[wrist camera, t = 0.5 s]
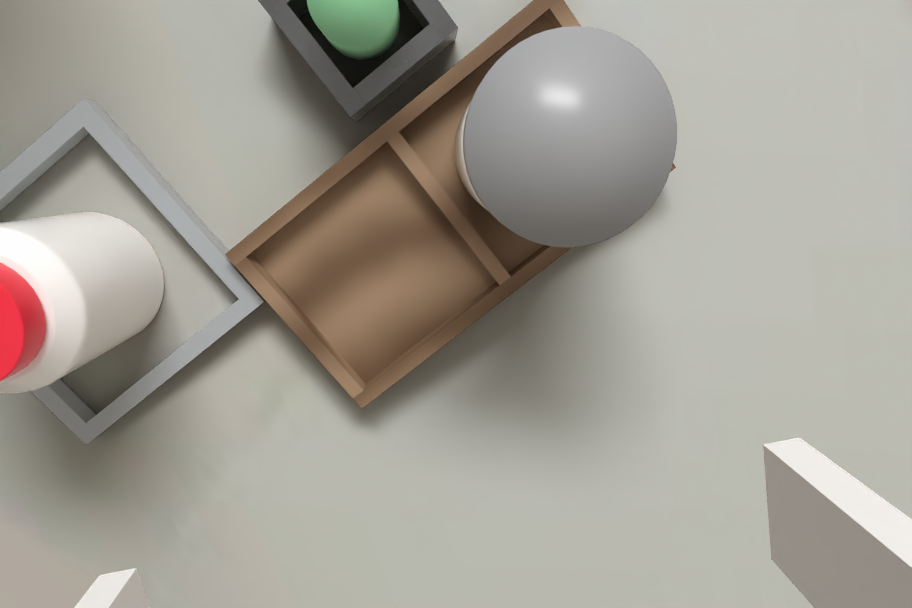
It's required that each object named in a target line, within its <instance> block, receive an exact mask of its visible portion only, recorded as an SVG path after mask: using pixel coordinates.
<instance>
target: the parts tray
mask: <svg viewBox="0 0 912 608" xmlns="http://www.w3.org/2000/svg"><path fill="white" fill-rule="evenodd" d="M89 133H90V134H91V135H92V137H93V138H94V139H95V140H96V141H97V142H98V143H99V144H100V145H101V147H102V148H103V149H104V150H105V151H106V152H107V153H108V154H109V155H110V157H111V158H112V159H113V160H114V161H115V162H116V163H117V164H118V165H119V167H120V168H121V169H122V170H123V171H124V172H125V173H126V174H127V175H128V177H129V178H130V179H131V180H132V181H133V182H134V183H135V184H136V185H137V187H138V188H139V189H140V190H141V191H142V192H143V193H144V194H145V195H146V197H147V198H148V199H149V200H150V201H151V202H152V203H153V204H154V205H155V207H156V208H157V209H158V210H159V211H160V212H161V213H162V214H163V215H164V217H165V218H166V219H167V220H168V221H169V222H170V223H171V224H172V225H173V227H174V228H175V229H176V230H177V231H178V232H179V233H180V234H181V235H182V237H183V238H184V239H185V240H186V241H187V242H188V243H189V244H190V245H191V247H192V248H193V249H194V250H195V251H196V252H197V253H198V254H199V255H200V257H201V258H202V259H203V260H204V261H205V262H206V263H207V264H208V265H209V267H210V268H211V269H212V270H213V271H214V272H215V273H216V274H217V275H218V277H219V278H220V279H221V280H222V281H223V282H224V283H225V284H226V285H227V287H228V288H229V289H230V290H231V291H232V292H233V293H234V294H235V295H236V297H237V298H238V300H237V301H236V302H235V303H234V304H232V305H231V306H230V307H229V308H227V309H226V310H225V311H224V312H222V313H221V314H220V315H219V316H218V317H216V318H215V319H214V320H213V321H211V322H210V323H209V324H208V325H206V326H205V327H204V328H203V329H201V330H200V331H199V332H198V333H197V334H195V335H194V336H193V337H192V338H190V339H189V340H188V341H187V342H185V343H184V344H183V345H182V346H181V347H179V348H178V349H177V350H176V351H174V352H173V353H172V354H171V355H169V356H168V357H167V358H166V359H165V360H163V361H162V362H161V363H160V364H158V365H157V366H156V367H155V368H153V369H152V370H151V371H150V372H148V373H147V374H146V375H145V376H144V377H142V378H141V379H140V380H139V381H137V382H136V383H135V384H134V385H132V386H131V387H130V388H129V389H128V390H126V391H125V392H124V393H123V394H121V395H120V396H119V397H118V398H116V399H115V400H114V401H113V402H112V403H110V404H109V405H108V406H107V407H105V408H104V409H103V410H102V411H100V412H99V413H98V414H97V415H96V414H95V413H94V412H93V411H92V410H91V409H90V408H89V407H88V406H87V405H86V404H85V403H84V402H83V401H82V400H81V399H80V398H79V397H78V396H77V395H76V394H75V393H74V392H73V391H72V390H71V389H70V388H69V387H68V386H67V385H66V384H65V383H64V382H63V381H62V380H61V379H59V380H57V381H55V382H53V383H52V384H49V385H47V386H44V387H42V388H39V389H37V390H32V391H31V392H32V393H33V394H34V395H35V396H36V397H37V398H38V399H39V400H40V401H41V402H42V403H43V404H44V405H45V406H46V407H47V408H48V409H49V410H50V411H51V412H52V413H53V414H54V415H55V416H56V417H57V418H58V419H60V420H61V421H62V422H63V423H64V424H65V425H66V426H67V427H68V428H69V429H70V430H71V431H72V432H73V433H74V434H75V435H76V436H77V437H78V438H79V439H80V440H81V441H82V442H83V443H84V444H85V445H87V444H88V443H90V442H91V441H92V440H93V439H95V438H96V437H97V436H98V435H100V434H101V433H102V432H103V431H105V430H106V429H107V428H108V427H109V426H111V425H112V424H113V423H114V422H116V421H117V420H118V419H119V418H121V417H122V416H123V415H124V414H126V413H127V412H128V411H129V410H131V409H132V408H133V407H134V406H136V405H137V404H138V403H139V402H140V401H142V400H143V399H144V398H145V397H147V396H148V395H149V394H150V393H152V392H153V391H154V390H155V389H157V388H158V387H159V386H160V385H162V384H163V383H164V382H165V381H166V380H168V379H169V378H170V377H171V376H173V375H174V374H175V373H176V372H178V371H179V370H180V369H181V368H183V367H184V366H185V365H186V364H188V363H189V362H190V361H191V360H193V359H194V358H195V357H196V356H197V355H199V354H200V353H201V352H202V351H204V350H205V349H206V348H207V347H209V346H210V345H211V344H212V343H214V342H215V341H216V340H217V339H219V338H220V337H221V336H222V335H224V334H225V333H226V332H227V331H228V330H230V329H231V328H232V327H233V326H235V325H236V324H237V323H238V322H240V321H241V320H242V319H243V318H245V317H246V316H247V315H248V314H250V313H251V312H252V311H253V310H255V309H256V308H257V307H258V306H259V305H261V304H262V303H263V302H264V301H266V300H265V299H264V298H263V297H262V296H261V295H260V294H259V292H258V291H257V290H256V289H255V288H254V287H253V286H252V285H251V283H250V282H249V281H248V280H247V279H246V278H245V277H244V276H243V274H242V273H241V272H240V271H239V270H238V269H237V268H236V267H235V265H234V264H233V263H232V262H231V261H230V260H229V259H228V258H227V256H226V255H225V254H226V253H227V252H229V251H228V250H227V249H226V248H225V247H224V246H223V245H222V244H221V242H220V241H219V240H218V239H217V238H216V237H215V236H214V235H213V233H212V232H211V231H210V230H209V229H208V228H207V227H206V225H205V224H204V223H203V222H202V221H201V220H200V219H199V218H198V216H197V215H196V214H195V213H194V212H193V211H192V210H191V209H190V207H189V206H188V205H187V204H186V203H185V202H184V201H183V200H182V198H181V197H180V196H179V195H178V194H177V193H176V192H175V191H174V189H173V188H172V187H171V186H170V185H169V184H168V183H167V182H166V180H165V179H164V178H163V177H162V176H161V175H160V174H159V172H158V171H157V170H156V169H155V168H154V167H153V166H152V165H151V163H150V162H149V161H148V160H147V159H146V158H145V157H144V156H143V154H142V153H141V152H140V151H139V150H138V149H137V148H136V147H135V145H134V144H133V143H132V142H131V141H130V140H129V139H128V138H127V136H126V135H125V134H124V133H123V132H122V131H121V130H120V128H119V127H118V126H117V125H116V124H115V123H114V122H113V121H112V119H111V118H110V117H109V116H108V115H107V114H106V113H105V112H104V110H103V109H102V108H101V107H100V106H99V105H98V104H97V103H96V101H92V100H87V99H82V100H81V101H80V102H79V103H78V104H77V105H76V106H74V107H73V108H72V109H71V110H70V111H69V112H68V113H67V114H65V115H64V116H63V117H62V118H61V119H60V120H59V121H57V122H56V123H55V124H54V125H53V126H52V127H51V128H50V129H48V130H47V131H46V132H45V133H44V134H43V135H42V136H41V137H39V138H38V139H37V140H36V141H35V142H34V143H33V144H31V145H30V146H29V147H28V148H27V149H26V150H25V151H24V152H22V153H21V154H20V155H19V156H18V157H17V158H16V159H15V160H13V161H12V162H11V163H10V164H9V165H8V166H7V167H5V168H4V169H3V170H2V171H1V172H0V211H1V210H2V209H3V208H4V207H6V206H7V205H8V204H9V203H10V202H11V201H12V200H14V199H15V198H16V197H17V196H18V195H19V194H20V193H22V192H23V191H24V190H25V189H26V188H27V187H28V186H30V185H31V184H32V183H33V182H34V181H35V180H36V179H38V178H39V177H40V176H41V175H42V174H43V173H44V172H46V171H47V170H48V169H49V168H50V167H51V166H52V165H54V164H55V163H56V162H57V161H58V160H59V159H60V158H62V157H63V156H64V155H65V154H66V153H67V152H68V151H70V150H71V149H72V148H73V147H74V146H75V145H76V144H78V143H79V142H80V141H81V140H82V139H83V138H84V137H86V136H87V135H88V134H89Z"/></svg>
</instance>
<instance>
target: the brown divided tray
mask: <svg viewBox="0 0 912 608" xmlns="http://www.w3.org/2000/svg"><path fill="white" fill-rule="evenodd" d="M572 26H579V27H581V25H580V24H579V22H578V21H577V19H576V18H575V16H574V15H573V13H572V12H571V10H570V9H569V8H568V6H567V5H566V3H565V2H564V0H533V1H532V2H531V3H530V4H529V5H527V6H526V7H525V8H524V9H523V10H521V11H520V12H519V13H518V14H516V15H515V16H514V17H513V18H512V19H510V20H509V21H508V22H507V23H506V24H504V25H503V26H502V27H501V28H499V29H498V30H497V31H496V32H495V33H493V34H492V35H491V36H490V37H489V38H487V39H486V40H485V41H484V42H482V43H481V44H480V45H479V46H478V47H476V48H475V49H474V50H473V51H472V52H470V53H469V54H468V55H467V56H465V57H464V58H463V59H462V60H461V61H459V62H458V63H457V64H456V65H455V66H453V67H452V68H451V69H450V70H448V71H447V72H446V73H445V74H444V75H442V76H441V77H440V78H439V79H438V80H436V81H435V82H434V83H433V84H431V85H430V86H429V87H428V88H427V89H425V90H424V91H423V92H422V93H421V94H419V95H418V96H417V97H416V98H414V99H413V100H412V101H411V102H410V103H408V104H407V105H406V106H405V107H404V108H402V109H401V110H400V111H399V112H397V113H396V114H395V115H394V116H393V117H391V118H390V119H389V120H388V121H387V122H385V123H384V124H383V125H382V126H380V127H379V128H378V129H377V130H376V131H374V132H373V133H372V134H371V135H370V136H368V137H367V138H366V139H365V140H363V141H362V142H361V143H360V144H359V145H357V146H356V147H355V148H354V149H353V150H351V151H350V152H349V153H348V154H346V155H345V156H344V157H343V158H342V159H340V160H339V161H338V162H337V163H336V164H334V165H333V166H332V167H331V168H329V169H328V170H327V171H326V172H325V173H323V174H322V175H321V176H320V177H319V178H317V179H316V180H315V181H314V182H312V183H311V184H310V185H309V186H308V187H306V188H305V189H304V190H303V191H302V192H300V193H299V194H298V195H297V196H295V197H294V198H293V199H292V200H291V201H289V202H288V203H287V204H286V205H285V206H283V207H282V208H281V209H280V210H278V211H277V212H276V213H275V214H274V215H272V216H271V217H270V218H269V219H268V220H266V221H265V222H264V223H263V224H261V225H260V226H259V227H258V228H257V229H255V230H254V231H253V232H252V233H251V234H249V235H248V236H247V237H246V238H244V239H243V240H242V241H241V242H240V243H238V244H237V245H236V246H235V247H234V248H232V249H231V250H230V251H229V252H227V253H226V254H225V255H226V256H227V258H228V259H229V260H230V261H231V262H232V263H233V264H234V265H235V267H236V268H237V269H238V270H239V271H240V272H241V273H242V274H243V276H244V277H245V278H246V279H247V280H248V281H249V282H250V283H251V285H252V286H253V287H254V288H255V289H256V290H257V291H258V292H259V294H260V295H261V296H262V297H263V298H264V299H265V300H266V301H267V303H268V304H269V305H270V306H271V307H272V308H273V309H274V310H275V312H276V313H277V314H278V315H279V316H280V317H281V318H282V319H283V321H284V322H285V323H286V324H287V325H288V326H289V327H290V328H291V330H292V331H293V332H294V333H295V334H296V335H297V336H298V337H299V339H300V340H301V341H302V342H303V343H304V344H305V345H306V346H307V348H308V349H309V350H310V351H311V352H312V353H313V354H314V355H315V357H316V358H317V359H318V360H319V361H320V362H321V363H322V364H323V366H324V367H325V368H326V369H327V370H328V371H329V372H330V373H331V375H332V376H333V377H334V378H335V379H336V380H337V381H338V382H339V384H340V385H341V386H342V387H343V388H344V389H345V390H346V391H347V393H348V394H349V395H350V396H351V397H352V398H353V399H354V400H355V402H356V403H357V404H358V405H359V406H360V407H361V408H363V407H364V406H366V405H367V404H368V403H370V402H371V401H372V400H374V399H375V398H376V397H377V396H379V395H380V394H381V393H383V392H384V391H385V390H387V389H388V388H389V387H391V386H392V385H393V384H394V383H396V382H397V381H398V380H400V379H401V378H402V377H404V376H405V375H406V374H407V373H409V372H410V371H411V370H413V369H414V368H415V367H417V366H418V365H419V364H420V363H422V362H423V361H424V360H426V359H427V358H428V357H430V356H431V355H432V354H434V353H435V352H436V351H437V350H439V349H440V348H441V347H443V346H444V345H445V344H447V343H448V342H449V341H450V340H452V339H453V338H454V337H456V336H457V335H458V334H460V333H461V332H462V331H463V330H465V329H466V328H467V327H469V326H470V325H471V324H473V323H474V322H475V321H476V320H478V319H479V318H480V317H482V316H483V315H484V314H486V313H487V312H488V311H490V310H491V309H492V308H493V307H495V306H496V305H497V304H499V303H500V302H501V301H503V300H504V299H505V298H506V297H508V296H509V295H510V294H512V293H513V292H514V291H516V290H517V289H518V288H519V287H521V286H522V285H523V284H525V283H526V282H527V281H529V280H530V279H531V278H533V277H534V276H535V275H536V274H538V273H539V272H540V271H542V270H543V269H544V268H546V267H547V266H548V265H549V264H551V263H552V262H553V261H555V260H556V259H557V258H559V257H560V256H561V255H562V254H564V253H565V252H566V251H568V250H569V249H570V248H572V247H570V248H566V247H553V246H547V245H542V244H539V243H536V242H533V241H530V240H528V239H526V238H523V237H521V236H519V235H517V234H516V233H514V232H513V231H511V230H510V229H508V228H507V227H505V226H504V225H503V224H501V223H500V222H499V221H498V220H497V219H496V218H495V217H493V216H492V215H491V213H490V212H489V211H487V210H486V209H485V208H483V207H482V206H481V205H480V204H478V203H477V202H476V201H475V200H474V199H473V197H472V196H471V195H470V194H469V193H468V191H467V190H466V188H465V187H464V185H463V183H462V181H461V179H460V176H459V173H458V170H457V166H456V161H455V150H454V149H455V137H456V132H457V128H458V125H459V122H460V119H461V117H462V115H463V113H464V111H465V110H466V108H467V106H468V105H469V103H470V102H471V100H472V98H473V96H474V94H475V92H476V90H477V88H478V86H479V85H480V83H481V82H482V80H483V79H484V77H485V75H486V74H487V72H488V71H489V70H490V69H491V68H492V66H493V65H494V64H495V63H496V62H497V61H498V60H499V59H500V58H501V57H502V56H503V55H504V54H505V53H506V52H507V51H508V50H510V49H511V48H513V47H514V46H515V45H517V44H518V43H520V42H521V41H523V40H525V39H527V38H529V37H531V36H533V35H535V34H538V33H541V32H543V31H546V30H551V29H555V28H560V27H572ZM674 168H676V167H675V165H674V164H672V168H671V171H672V170H673V169H674ZM671 171H670V172H671Z"/></svg>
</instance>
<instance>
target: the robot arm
mask: <svg viewBox="0 0 912 608" xmlns="http://www.w3.org/2000/svg"><path fill="white" fill-rule="evenodd" d="M763 448H764V462H765V476H766V490H767V504H768V518H769V532H770V546H771V559H772V560H773V561H774V563H775V564H776V565H777V566H778V567H779V568H780V569H781V570H782V572H783V573H784V574H785V575H786V576H787V577H788V578H789V580H790V581H791V582H792V583H793V584H794V585H795V586H796V587H797V589H798V590H799V591H800V592H801V593H802V594H803V595H804V597H805V598H806V599H807V600H808V601H809V602H810V603H811V605H812V606H813V607H814V608H912V519H910V518H909V517H908V516H906V515H905V514H903V513H902V512H901V511H899V510H898V509H897V508H895V507H894V506H892V505H891V504H890V503H888V502H887V501H886V500H884V499H883V498H881V497H880V496H879V495H877V494H876V493H875V492H873V491H872V490H871V489H869V488H868V487H866V486H865V485H864V484H862V483H861V482H860V481H858V480H857V479H855V478H854V477H853V476H851V475H850V474H849V473H847V472H846V471H845V470H843V469H842V468H840V467H839V466H838V465H836V464H835V463H834V462H832V461H831V460H829V459H828V458H827V457H825V456H824V455H823V454H821V453H820V452H818V451H817V450H816V449H814V448H813V447H812V446H810V445H809V444H808V443H806V442H805V441H803V440H802V439H801V438H795V439H789V440H784V441H779V442H774V443H769V444H764V445H763ZM74 608H151V607H150V604H149V601H148V598H147V596H146V593H145V590H144V587H143V584H142V582H141V579H140V576H139V573H138V570H137V568H133V569H128V570H123V571H118V572H113V573H108V574H103V575H99V577H98V578H97V579H96V580H95V582H94V583H93V584H92V586H91V587H90V588H89V589H88V591H87V592H86V593H85V595H84V596H83V597H82V598H81V600H80V601H79V602H78V604H77V605H76V606H75V607H74Z"/></svg>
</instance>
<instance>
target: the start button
mask: <svg viewBox="0 0 912 608" xmlns="http://www.w3.org/2000/svg"><path fill="white" fill-rule="evenodd" d="M307 5H308V9H309V12H310V15H311V17H312V19H313V21H314V22H315V24H316V25H317V27H318V28H319V29H320V31H321V32H322V33H323V34H324V36H325V37H326V38H327V40H328V41H329V42H330V44H331V45H332V46H333V47H334V48H335V49H336V50H337V51H338V52H340V53H341V54H343V55H345V56H347V57H349V58H352V59H356V60H369V59H373V58H376V57H378V56H380V55H382V54H383V53H385V52H386V51H387V50H388V49H389V48H390V47H391V46H392V44H393V43H394V41H395V40H396V37H397V35H398V32H399V27H400V12H399V6H398V0H307Z"/></svg>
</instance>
